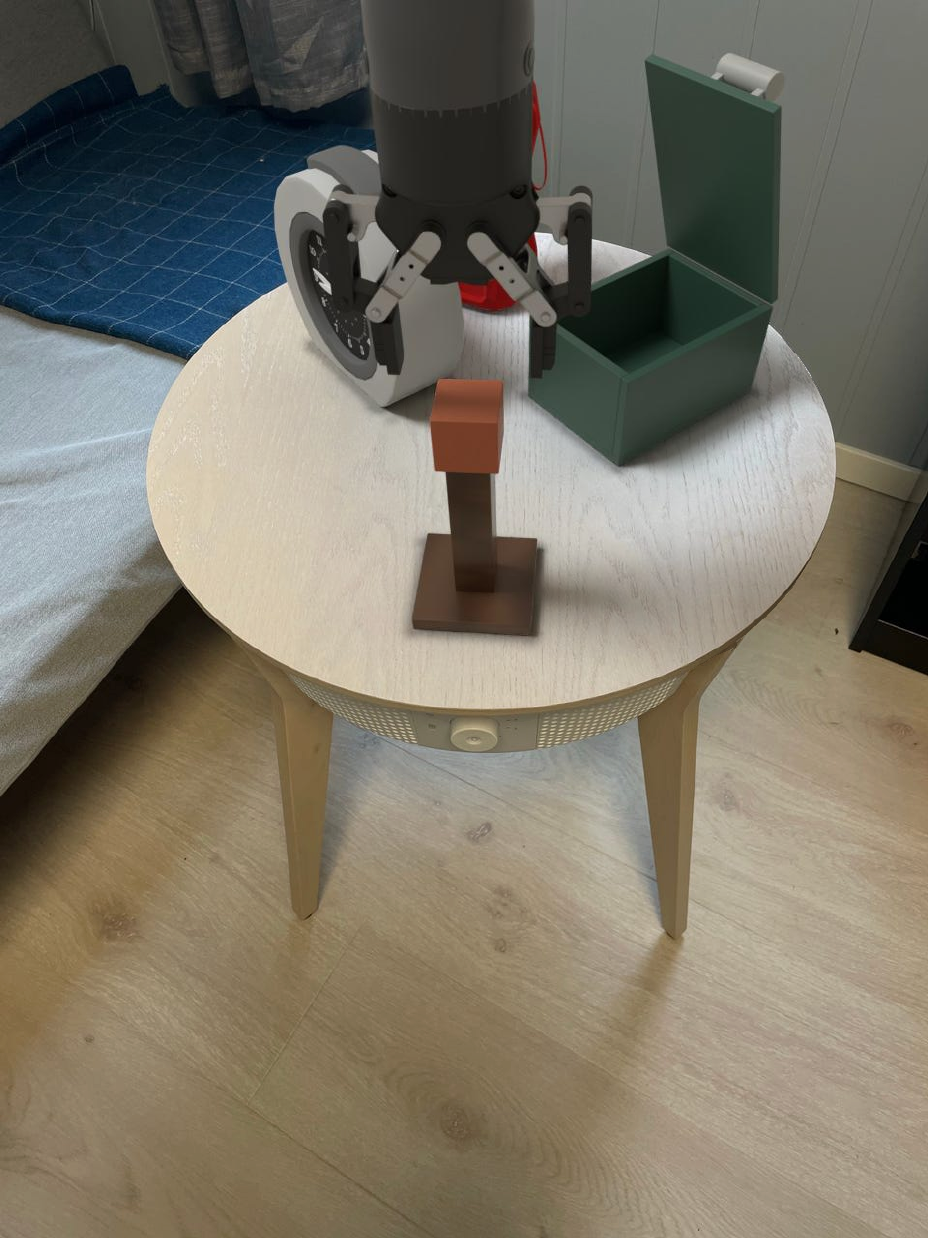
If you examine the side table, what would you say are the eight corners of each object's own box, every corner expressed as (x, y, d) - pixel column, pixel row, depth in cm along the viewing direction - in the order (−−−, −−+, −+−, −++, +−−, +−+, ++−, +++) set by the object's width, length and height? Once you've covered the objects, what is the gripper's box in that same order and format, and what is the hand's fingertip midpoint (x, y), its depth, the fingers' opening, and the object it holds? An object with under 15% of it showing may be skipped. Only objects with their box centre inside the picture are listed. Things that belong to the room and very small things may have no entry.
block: (503, 431, 57) (503, 379, 54) (498, 474, 55) (497, 422, 52) (442, 429, 58) (438, 377, 55) (434, 471, 55) (429, 420, 52)
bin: (617, 466, 75) (628, 383, 68) (527, 395, 82) (529, 312, 75) (751, 391, 81) (773, 306, 74) (656, 330, 87) (669, 247, 80)
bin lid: (773, 112, 58) (830, 65, 58) (643, 59, 65) (695, 16, 65) (771, 304, 73) (816, 266, 74) (666, 245, 80) (708, 210, 80)
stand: (537, 547, 70) (541, 410, 59) (530, 635, 64) (533, 502, 53) (428, 542, 71) (412, 405, 60) (412, 628, 65) (392, 496, 54)
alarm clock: (295, 327, 91) (249, 129, 75) (355, 301, 93) (323, 104, 77) (404, 429, 80) (377, 221, 64) (469, 397, 82) (458, 189, 66)
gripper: (610, 34, 40) (586, 335, 53) (314, 37, 42) (361, 329, 54) (609, 102, 36) (583, 413, 48) (277, 102, 37) (337, 404, 50)
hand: (465, 369), depth 51 cm, fingers open, 8 cm apart
